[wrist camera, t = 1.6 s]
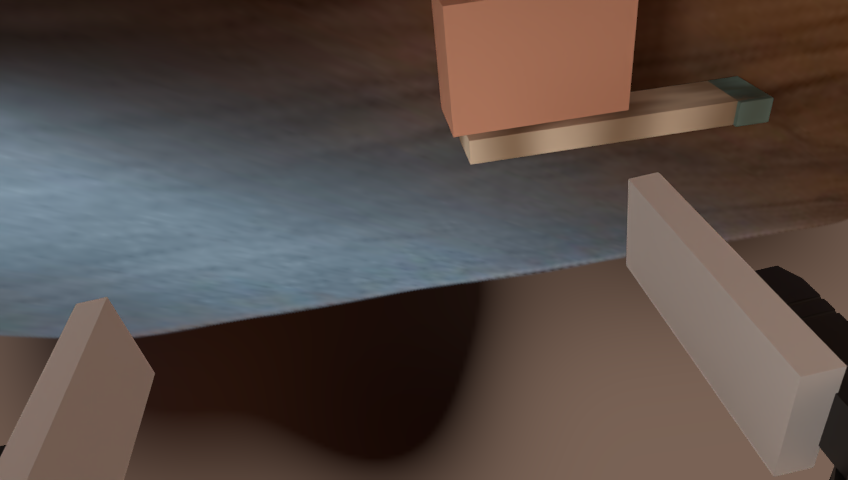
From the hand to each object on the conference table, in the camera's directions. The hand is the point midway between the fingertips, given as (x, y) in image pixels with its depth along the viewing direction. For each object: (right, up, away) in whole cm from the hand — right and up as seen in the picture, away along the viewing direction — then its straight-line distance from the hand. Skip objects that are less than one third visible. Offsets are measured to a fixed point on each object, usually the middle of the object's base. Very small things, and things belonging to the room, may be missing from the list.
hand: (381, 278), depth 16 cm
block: (+7, +13, +20) cm, 25 cm away
